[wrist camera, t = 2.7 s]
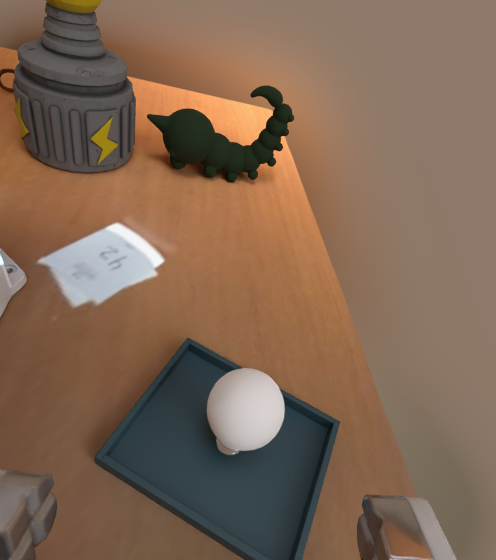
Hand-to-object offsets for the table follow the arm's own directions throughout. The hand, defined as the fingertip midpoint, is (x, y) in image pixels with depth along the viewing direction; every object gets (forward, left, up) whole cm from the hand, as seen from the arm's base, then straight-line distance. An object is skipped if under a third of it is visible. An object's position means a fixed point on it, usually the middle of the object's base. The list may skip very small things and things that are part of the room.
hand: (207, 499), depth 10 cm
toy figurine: (-50, +41, -26) cm, 70 cm away
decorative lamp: (-64, +22, -26) cm, 72 cm away
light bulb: (-6, +12, -26) cm, 29 cm away
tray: (-6, +12, -26) cm, 29 cm away
